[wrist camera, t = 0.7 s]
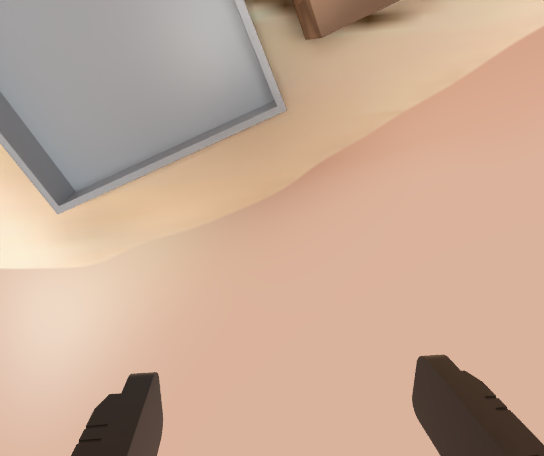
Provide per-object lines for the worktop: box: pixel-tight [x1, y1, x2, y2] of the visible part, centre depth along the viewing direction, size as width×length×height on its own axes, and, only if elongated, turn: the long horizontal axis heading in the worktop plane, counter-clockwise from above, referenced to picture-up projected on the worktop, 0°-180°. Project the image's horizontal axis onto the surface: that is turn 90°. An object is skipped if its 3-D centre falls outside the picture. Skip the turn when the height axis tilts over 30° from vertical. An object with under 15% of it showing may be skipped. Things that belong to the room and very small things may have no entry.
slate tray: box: [0, 0, 287, 214], centre depth 26 cm, size 22×22×4 cm
